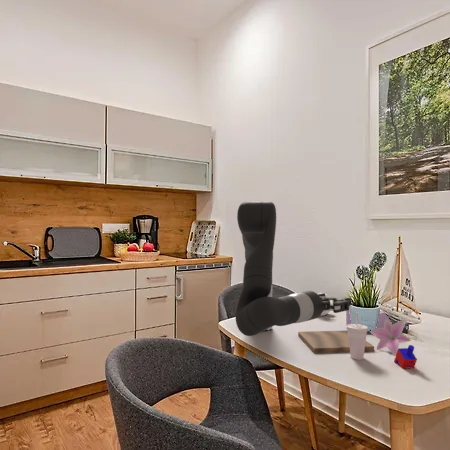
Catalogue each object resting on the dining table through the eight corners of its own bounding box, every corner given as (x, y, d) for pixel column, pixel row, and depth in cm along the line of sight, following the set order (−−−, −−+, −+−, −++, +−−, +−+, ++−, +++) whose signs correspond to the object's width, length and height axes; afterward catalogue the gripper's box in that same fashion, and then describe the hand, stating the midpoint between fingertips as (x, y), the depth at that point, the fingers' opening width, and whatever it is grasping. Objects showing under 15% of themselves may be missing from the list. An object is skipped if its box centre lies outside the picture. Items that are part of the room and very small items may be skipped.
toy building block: (400, 372, 111) (407, 352, 107) (394, 360, 115) (400, 341, 111) (412, 372, 111) (419, 352, 107) (405, 360, 115) (412, 341, 111)
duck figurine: (306, 320, 171) (311, 303, 163) (302, 306, 176) (307, 290, 169) (332, 319, 171) (338, 303, 164) (328, 306, 177) (333, 289, 170)
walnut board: (313, 352, 123) (314, 348, 123) (298, 335, 141) (298, 331, 140) (374, 351, 124) (374, 346, 124) (351, 334, 142) (351, 330, 142)
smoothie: (364, 354, 122) (365, 310, 121) (370, 361, 115) (370, 315, 115) (344, 353, 122) (344, 309, 122) (348, 360, 116) (348, 314, 116)
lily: (367, 346, 132) (363, 325, 129) (397, 331, 134) (393, 310, 130) (390, 369, 122) (386, 347, 118) (422, 353, 123) (418, 330, 119)
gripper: (323, 296, 95) (359, 289, 106) (280, 289, 106) (316, 283, 116) (323, 327, 95) (359, 316, 106) (280, 316, 106) (316, 307, 117)
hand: (336, 299), depth 111 cm, fingers open, 8 cm apart
